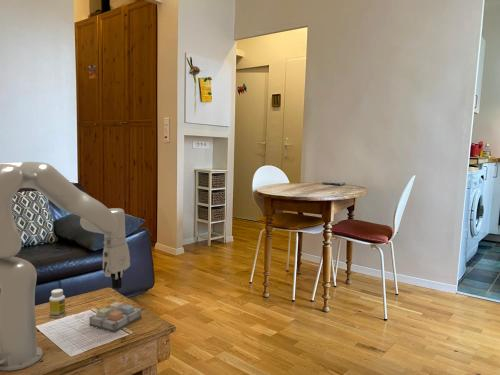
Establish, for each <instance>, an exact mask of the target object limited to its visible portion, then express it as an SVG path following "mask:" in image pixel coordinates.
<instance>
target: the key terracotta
mask: <svg viewBox="0 0 500 375" xmlns="http://www.w3.org/2000/svg"><path fill="white" fill-rule="evenodd" d="M122 318H123V314H122V312H120V311H116V310H115V311H113V312H111V313H109V320H111V321H115V322H116V321H118V320H120V319H122Z"/></svg>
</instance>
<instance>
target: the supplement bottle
mask: <svg viewBox="0 0 500 375" xmlns="http://www.w3.org/2000/svg"><path fill="white" fill-rule="evenodd" d="M50 294H51V296H50V297H49V317H50V318H61V317H64V316H65V315H66V295H64V290H63V289H62V288H56V289H53V290H51V293H50Z"/></svg>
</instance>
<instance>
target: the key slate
mask: <svg viewBox="0 0 500 375" xmlns="http://www.w3.org/2000/svg"><path fill="white" fill-rule="evenodd" d="M134 308H135V306H134V305H131V304H130V305H129V304H125V306H123V307H121V312H122V314H125V315H129V314H131V313H133V312H134Z"/></svg>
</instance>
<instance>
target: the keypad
mask: <svg viewBox="0 0 500 375" xmlns="http://www.w3.org/2000/svg"><path fill="white" fill-rule="evenodd" d="M125 305H126V304H125ZM125 305H124V304H123V306H125ZM108 309H110V307H108ZM111 312H113V311H111ZM120 312H121V310H120ZM88 318H89V327H92V326H93V328H95V327H97V328H96V329H99V330H102V329H103V331H107V332H108V333H109V332H110V333H113V334H115V333H117V332H119V331H120V330H122V329H125V328H126V327H128V326H129V325H131V324H133V323H134V322H136V321H138V320H140V319H142V309H141V308H135V307H134V312H133V313H131V314H129V315H125V314H123V318H122V319H120V320H118V321H116V322H115V321H111V320H109V316H108V317H106V318H100V317H97V313H95V314H93V315H91V316H90V317H88Z"/></svg>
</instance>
